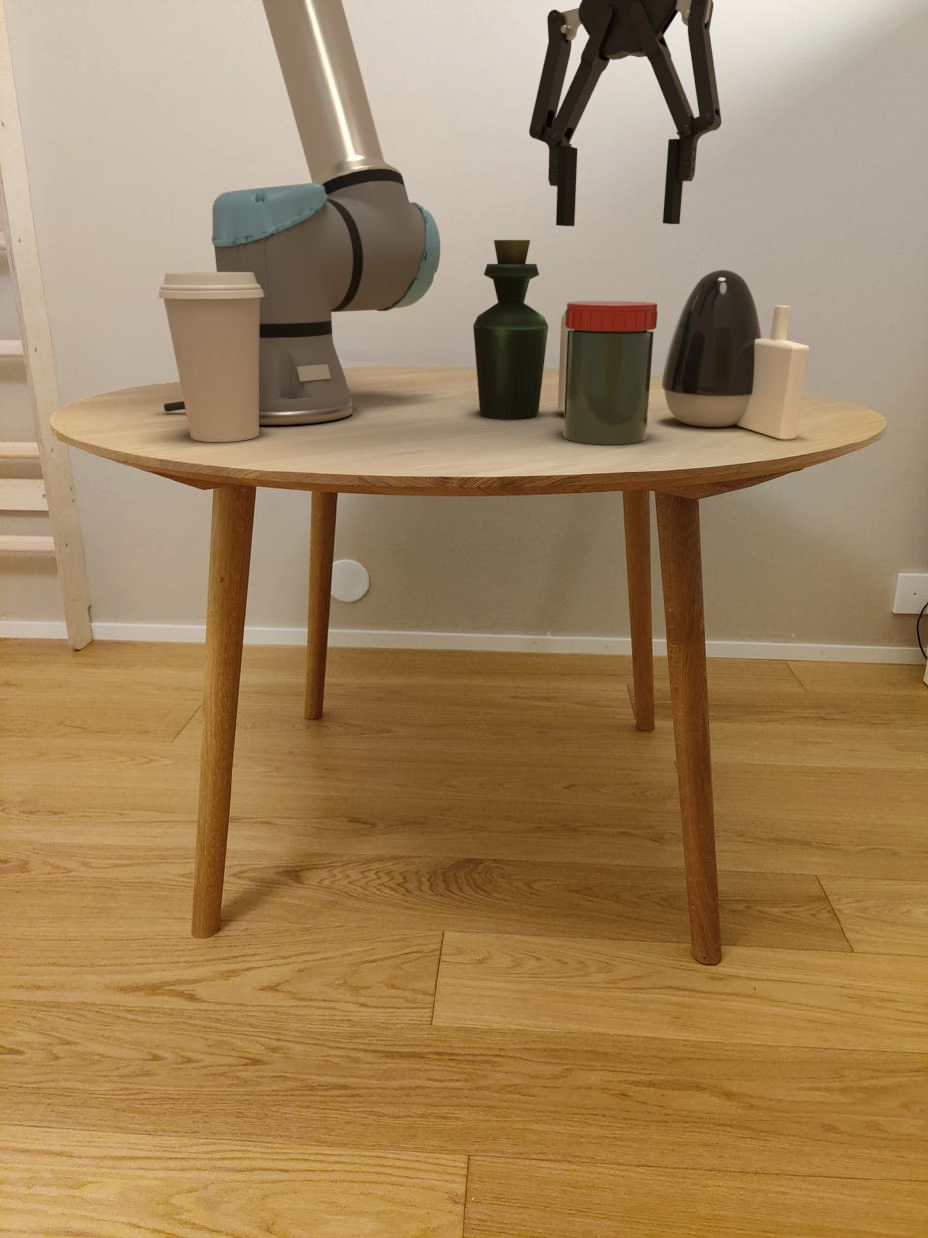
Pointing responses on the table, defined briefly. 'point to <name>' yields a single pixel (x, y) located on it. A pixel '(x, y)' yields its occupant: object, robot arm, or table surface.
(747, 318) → the black and white egg
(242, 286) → the coffee cup
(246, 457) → the table surface
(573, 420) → the jar
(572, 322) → the lid
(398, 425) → the table surface
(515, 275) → the potion bottle
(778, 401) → the perfume bottle
